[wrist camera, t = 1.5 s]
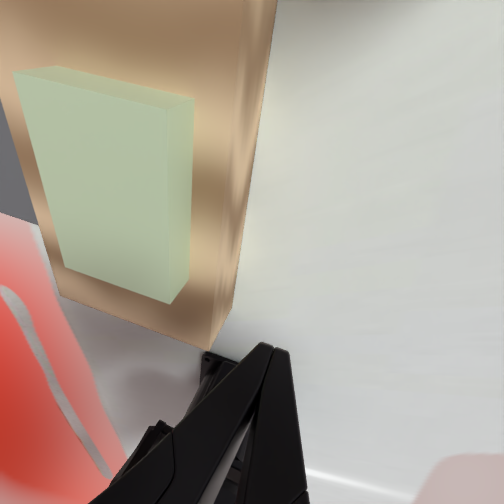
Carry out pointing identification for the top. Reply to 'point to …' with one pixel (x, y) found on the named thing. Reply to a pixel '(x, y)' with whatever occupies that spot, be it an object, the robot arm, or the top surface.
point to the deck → (204, 139)
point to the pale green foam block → (114, 175)
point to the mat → (12, 178)
